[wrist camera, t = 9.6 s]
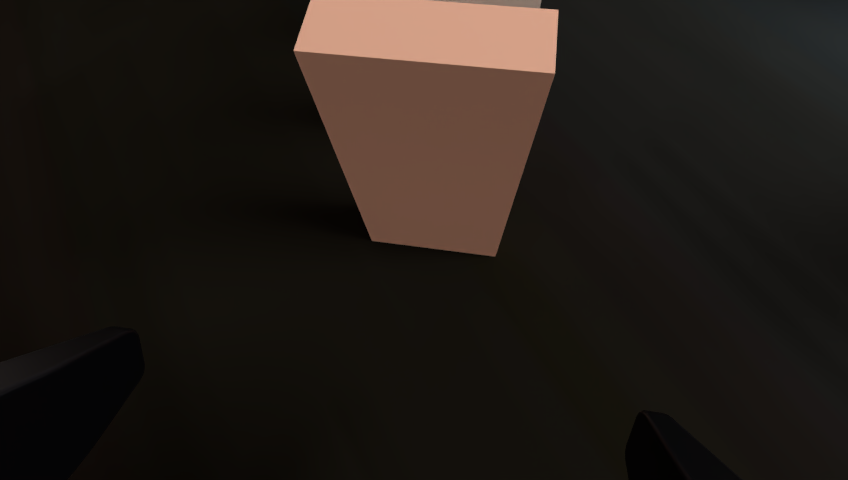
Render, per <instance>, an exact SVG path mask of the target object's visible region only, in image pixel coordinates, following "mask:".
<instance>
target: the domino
mask: <svg viewBox="0 0 848 480" xmlns="http://www.w3.org/2000/svg"><path fill="white" fill-rule="evenodd" d="M557 26H558V10H553V9H539V8H525V7H512V6H498V5H485V4H471V3H457V2H444V1H430V0H310V3H309V6H308V9H307V12H306V15H305V18H304V21H303V24H302V27H301V30H300V33H299V36H298V39H297V42H296V45H295V48H294V53H295V56H296V58H297V60H298V63H299V65H300V68H301V70H302V73H303V75H304V77H305V80H306V82H307V85H308V87H309V90H310V92H311V94H312V97H313V99H314V102H315V104H316V107H317V109H318V111H319V114H320V116H321V119H322V121H323V124H324V126H325V128H326V131H327V133H328V136H329V138H330V141H331V143H332V145H333V148H334V150H335V153H336V155H337V158H338V160H339V162H340V165H341V167H342V170H343V172H344V175H345V177H346V179H347V182H348V184H349V187H350V189H351V192H352V194H353V196H354V199H355V201H356V204H357V206H358V209H359V211H360V213H361V216H362V218H363V221H364V223H365V226H366V228H367V230H368V233H369V235H370V238H371V240H372V241H377V242H385V243H392V244H400V245H408V246H416V247H424V248H432V249H440V250H448V251H455V252H463V253H471V254H479V255H487V256H496V253H497V250H498V247H499V243H500V240H501V237H502V234H503V231H504V228H505V225H506V222H507V219H508V216H509V213H510V210H511V207H512V204H513V201H514V198H515V194H516V191H517V188H518V185H519V182H520V179H521V176H522V173H523V170H524V167H525V164H526V161H527V158H528V155H529V152H530V148H531V145H532V142H533V139H534V136H535V133H536V130H537V127H538V124H539V121H540V118H541V115H542V112H543V109H544V106H545V103H546V99H547V96H548V93H549V90H550V87H551V84H552V81H553V78H554V75H555V64H556V45H557Z"/></svg>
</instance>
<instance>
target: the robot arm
mask: <svg viewBox="0 0 848 480" xmlns="http://www.w3.org/2000/svg"><path fill="white" fill-rule="evenodd" d="M144 368H145V364H144V359H143V354H142V349H141V344H140V339H139V335H138V334H137V332H136V331H135V330H133V329H129V328H123V327H115V326H113V327H108V328H104V329H101V330H98V331H95V332H92V333H89V334H86V335H83V336H80V337H77V338H74V339H71V340H68V341H65V342H61V343H58V344H55V345H52V346H49V347H46V348H43V349H40V350H37V351H34V352H31V353H28V354H25V355H22V356H19V357H15V358H12V359H9V360H6V361H3V362H0V480H67V479H68V478H69V477H70V476H71V474H72V473H73V472H74V471H75V470H76V468H77V467H78V466H79V465H80V463H81V462H82V461H83V460H84V458H85V457H86V456H87V455H88V453H89V452H90V451H91V449H92V448H93V446H94V445H95V444H96V442H97V441H98V440H99V438H100V437H101V435H102V434H103V432H104V431H105V429H106V428H107V427H108V425H109V424H110V422H111V421H112V419H113V418H114V417H115V415H116V414H117V412H118V411H119V409H120V408H121V407H122V405H123V404H124V402H125V401H126V399H127V398H128V397H129V395H130V394H131V392H132V391H133V389H134V388H135V387H136V385H137V384H138V382H139V381H140V379H141V378H142V375H143V373H144ZM625 460H626V466H627V472H628V478H629V480H742V479H741V478H740V477H738V476H737V475H736V474H735V473H734V472H733V471H732V470H730V469H729V468H728V467H727V466H726V465H725V464H724V463H722V462H721V461H720V460H719V459H718V458H717V457H716V456H715V455H713V454H712V453H711V452H710V451H709V450H708V449H707V448H705V447H704V446H703V445H702V444H701V443H700V442H699V441H698V440H696V439H695V438H694V437H693V436H692V435H691V434H690V433H688V432H687V431H686V430H685V429H684V428H683V427H682V426H680V425H679V424H678V423H677V422H676V421H675V420H674V419H673V418H671V417H670V416H669V415H667V414H664V413H659V412H652V411H646V410H644V411H641V412H639V413H638V415H637V417H636V419H635V422H634V425H633V428H632V431H631V433H630V436H629V439H628V442H627V445H626V450H625Z"/></svg>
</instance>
